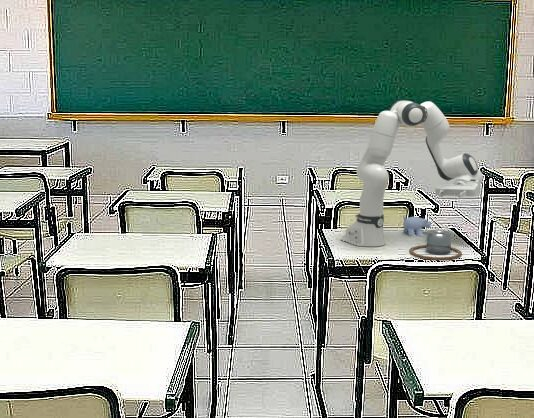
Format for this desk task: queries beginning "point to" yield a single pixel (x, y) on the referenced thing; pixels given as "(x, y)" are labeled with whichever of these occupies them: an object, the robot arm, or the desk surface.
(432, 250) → the metal cover
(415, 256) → the locating ring
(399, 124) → the robot arm
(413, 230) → the hippopotamus toy
